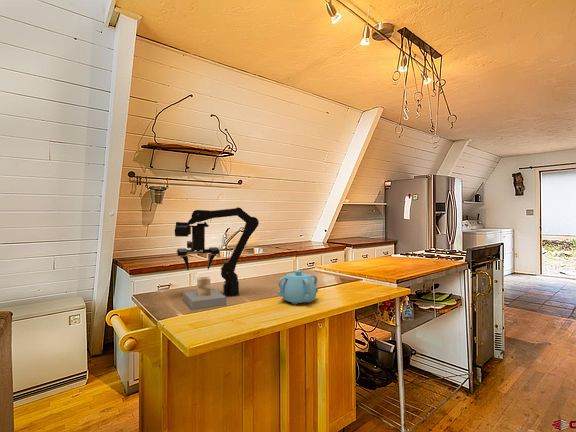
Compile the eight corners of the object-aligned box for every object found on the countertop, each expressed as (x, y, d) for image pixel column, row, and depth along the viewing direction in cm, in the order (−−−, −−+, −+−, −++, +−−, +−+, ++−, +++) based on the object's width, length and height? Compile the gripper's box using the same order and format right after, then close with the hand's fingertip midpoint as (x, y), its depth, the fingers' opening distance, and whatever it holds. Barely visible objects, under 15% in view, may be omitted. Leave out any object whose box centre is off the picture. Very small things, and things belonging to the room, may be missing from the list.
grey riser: (213, 296, 148) (213, 288, 148) (226, 306, 133) (226, 297, 133) (183, 300, 141) (183, 291, 141) (192, 311, 126) (192, 301, 126)
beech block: (208, 292, 140) (208, 276, 140) (210, 295, 136) (210, 278, 136) (197, 293, 139) (197, 277, 139) (198, 296, 134) (198, 279, 134)
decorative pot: (272, 303, 137) (273, 271, 137) (290, 294, 151) (290, 266, 151) (307, 308, 129) (307, 275, 129) (322, 299, 143) (322, 269, 143)
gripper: (214, 235, 159) (214, 266, 159) (175, 235, 151) (175, 268, 151) (219, 236, 149) (219, 269, 149) (178, 237, 141) (177, 272, 141)
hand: (198, 269), depth 148 cm, fingers open, 9 cm apart
